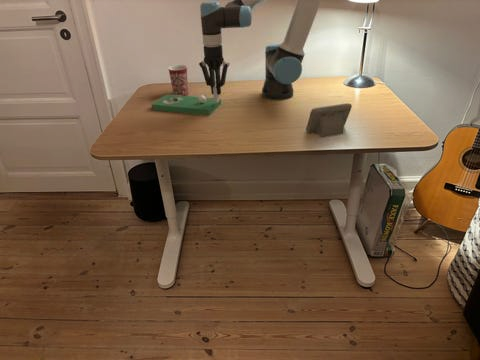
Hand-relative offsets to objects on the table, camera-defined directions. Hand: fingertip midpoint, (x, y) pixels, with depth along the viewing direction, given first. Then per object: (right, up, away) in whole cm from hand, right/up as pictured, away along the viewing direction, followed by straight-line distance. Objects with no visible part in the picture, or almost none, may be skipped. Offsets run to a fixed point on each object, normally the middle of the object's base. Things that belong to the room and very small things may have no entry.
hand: (216, 101), depth 152 cm
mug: (-19, +9, +22) cm, 31 cm away
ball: (-7, +1, +2) cm, 7 cm away
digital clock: (+43, -16, -21) cm, 50 cm away
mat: (-14, -1, +6) cm, 15 cm away
